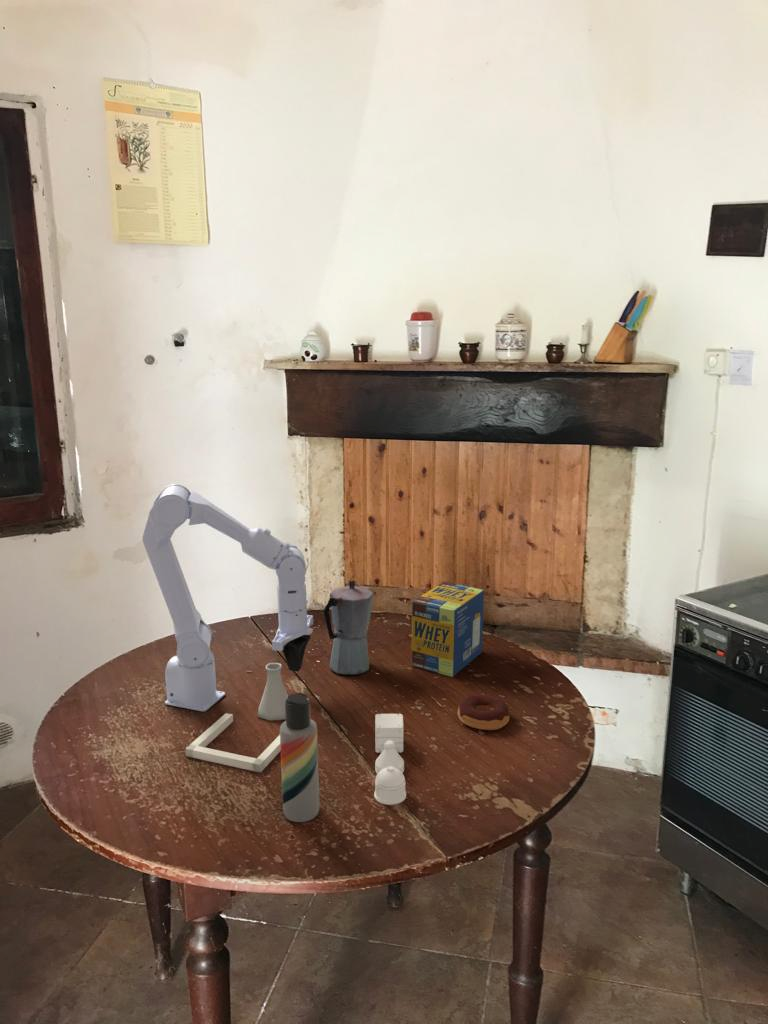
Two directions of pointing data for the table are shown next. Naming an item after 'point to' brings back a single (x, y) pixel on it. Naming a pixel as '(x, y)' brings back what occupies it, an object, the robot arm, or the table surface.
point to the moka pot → (349, 628)
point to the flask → (273, 695)
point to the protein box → (447, 628)
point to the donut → (483, 712)
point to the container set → (389, 759)
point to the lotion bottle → (299, 760)
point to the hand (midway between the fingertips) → (295, 669)
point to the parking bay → (235, 760)
